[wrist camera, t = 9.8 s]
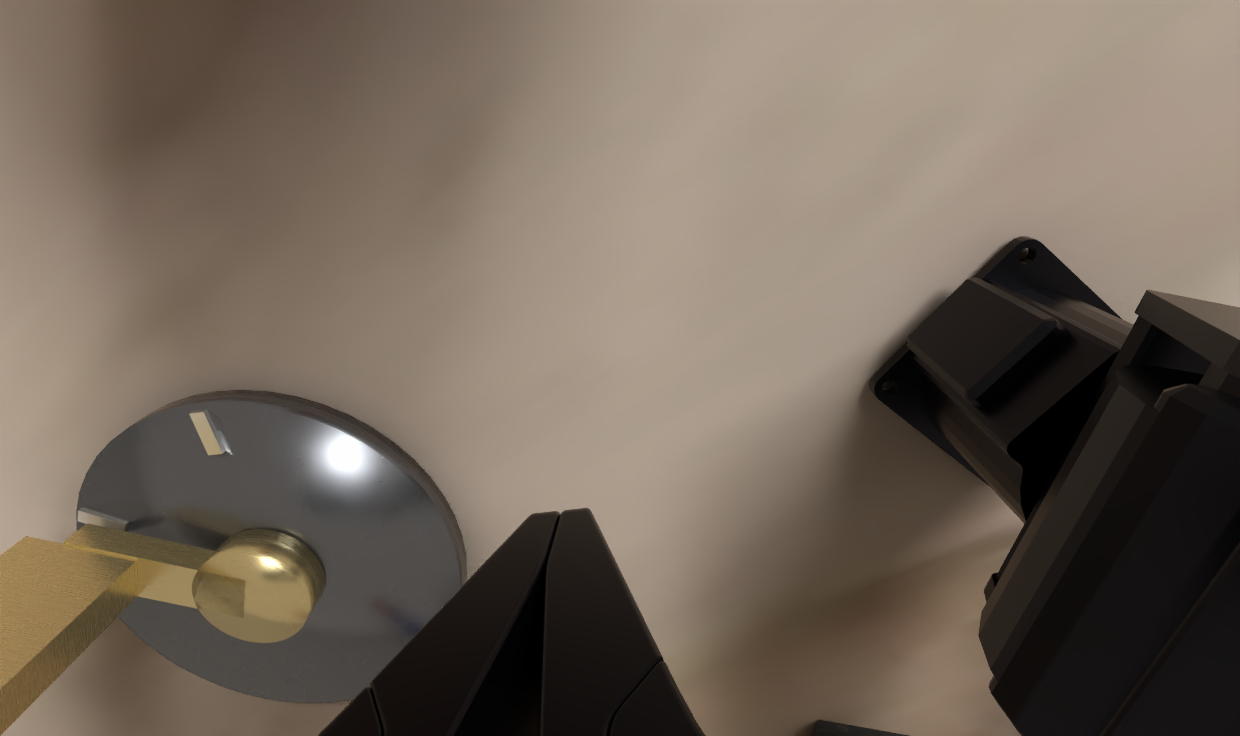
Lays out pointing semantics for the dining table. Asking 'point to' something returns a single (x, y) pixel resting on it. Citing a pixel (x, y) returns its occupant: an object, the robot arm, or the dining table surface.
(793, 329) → the dining table surface
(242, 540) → the gold bent piece
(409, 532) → the lock plate
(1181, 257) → the dining table surface
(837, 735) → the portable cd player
